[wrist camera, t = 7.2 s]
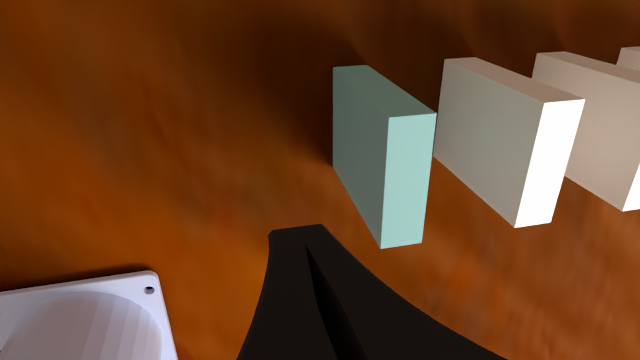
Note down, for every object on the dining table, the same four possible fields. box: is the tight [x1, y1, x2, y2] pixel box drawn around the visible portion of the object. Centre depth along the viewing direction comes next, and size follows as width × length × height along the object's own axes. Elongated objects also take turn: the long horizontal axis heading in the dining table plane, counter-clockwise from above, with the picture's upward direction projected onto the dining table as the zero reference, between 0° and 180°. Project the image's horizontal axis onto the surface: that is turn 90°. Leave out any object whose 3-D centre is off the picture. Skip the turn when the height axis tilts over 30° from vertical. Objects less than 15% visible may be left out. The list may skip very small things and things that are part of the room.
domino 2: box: [531, 51, 640, 211], centre depth 20 cm, size 5×2×7 cm, turn 1°
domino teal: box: [333, 65, 437, 249], centre depth 18 cm, size 5×2×7 cm, turn 1°
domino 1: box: [433, 57, 585, 228], centre depth 19 cm, size 5×2×7 cm, turn 1°
